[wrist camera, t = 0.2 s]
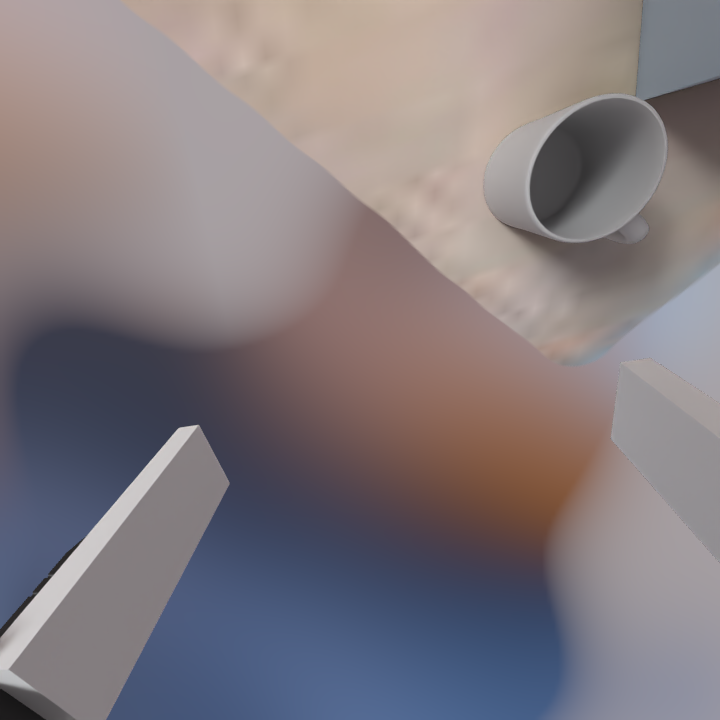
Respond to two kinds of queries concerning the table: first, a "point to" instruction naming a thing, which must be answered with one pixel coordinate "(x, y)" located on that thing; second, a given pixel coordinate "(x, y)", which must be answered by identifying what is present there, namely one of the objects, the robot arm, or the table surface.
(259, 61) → the table surface
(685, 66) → the grey box with hole
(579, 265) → the table surface
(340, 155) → the table surface
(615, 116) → the mug
